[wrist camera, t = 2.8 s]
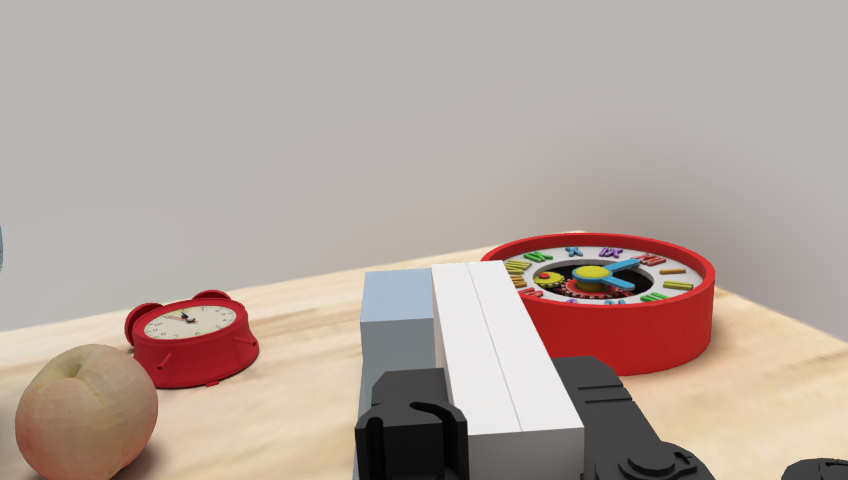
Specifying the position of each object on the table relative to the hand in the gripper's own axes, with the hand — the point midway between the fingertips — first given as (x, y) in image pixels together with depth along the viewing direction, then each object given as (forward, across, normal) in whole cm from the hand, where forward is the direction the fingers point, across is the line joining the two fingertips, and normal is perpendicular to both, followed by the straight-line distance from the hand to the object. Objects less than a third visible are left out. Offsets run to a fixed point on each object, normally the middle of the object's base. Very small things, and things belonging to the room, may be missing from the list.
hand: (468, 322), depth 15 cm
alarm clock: (+43, -20, -20) cm, 51 cm away
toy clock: (+44, +15, -20) cm, 50 cm away
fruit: (+26, -22, -20) cm, 39 cm away
